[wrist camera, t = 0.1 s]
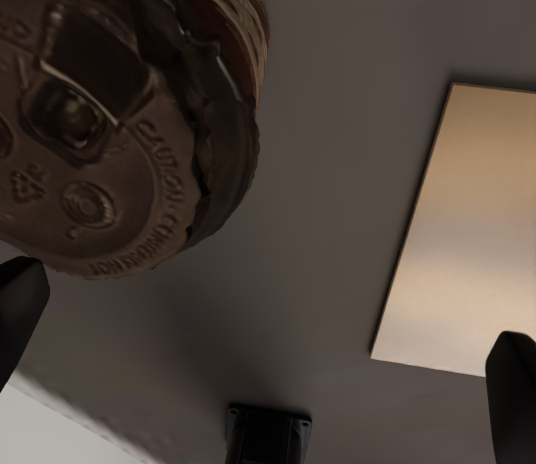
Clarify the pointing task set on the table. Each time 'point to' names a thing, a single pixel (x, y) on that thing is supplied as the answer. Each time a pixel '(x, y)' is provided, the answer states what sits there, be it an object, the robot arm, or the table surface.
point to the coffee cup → (125, 127)
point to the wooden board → (468, 237)
